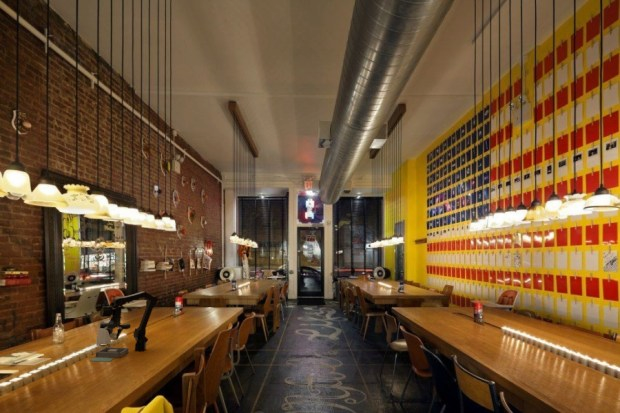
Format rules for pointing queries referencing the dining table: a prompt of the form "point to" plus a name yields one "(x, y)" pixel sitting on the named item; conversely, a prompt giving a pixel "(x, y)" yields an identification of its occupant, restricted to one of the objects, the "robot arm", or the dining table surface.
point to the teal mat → (102, 359)
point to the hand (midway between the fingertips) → (114, 338)
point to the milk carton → (103, 334)
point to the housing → (112, 352)
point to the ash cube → (113, 336)
